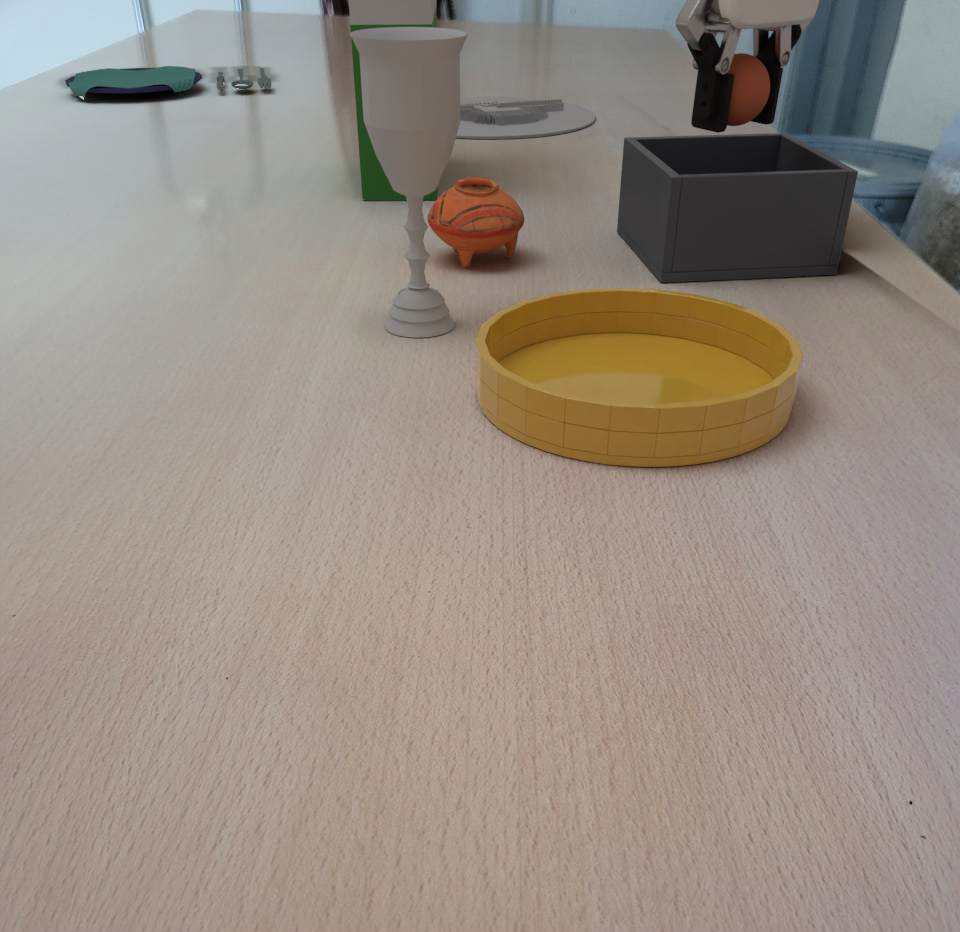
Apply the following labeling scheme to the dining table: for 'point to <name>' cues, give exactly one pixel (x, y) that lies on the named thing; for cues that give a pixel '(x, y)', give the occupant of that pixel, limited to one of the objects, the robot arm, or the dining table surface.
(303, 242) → the dining table surface
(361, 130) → the white green box
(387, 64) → the chalice
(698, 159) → the bin
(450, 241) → the pot
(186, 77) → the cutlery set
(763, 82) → the toy ball
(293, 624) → the dining table surface
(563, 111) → the plate
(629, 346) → the bowl
